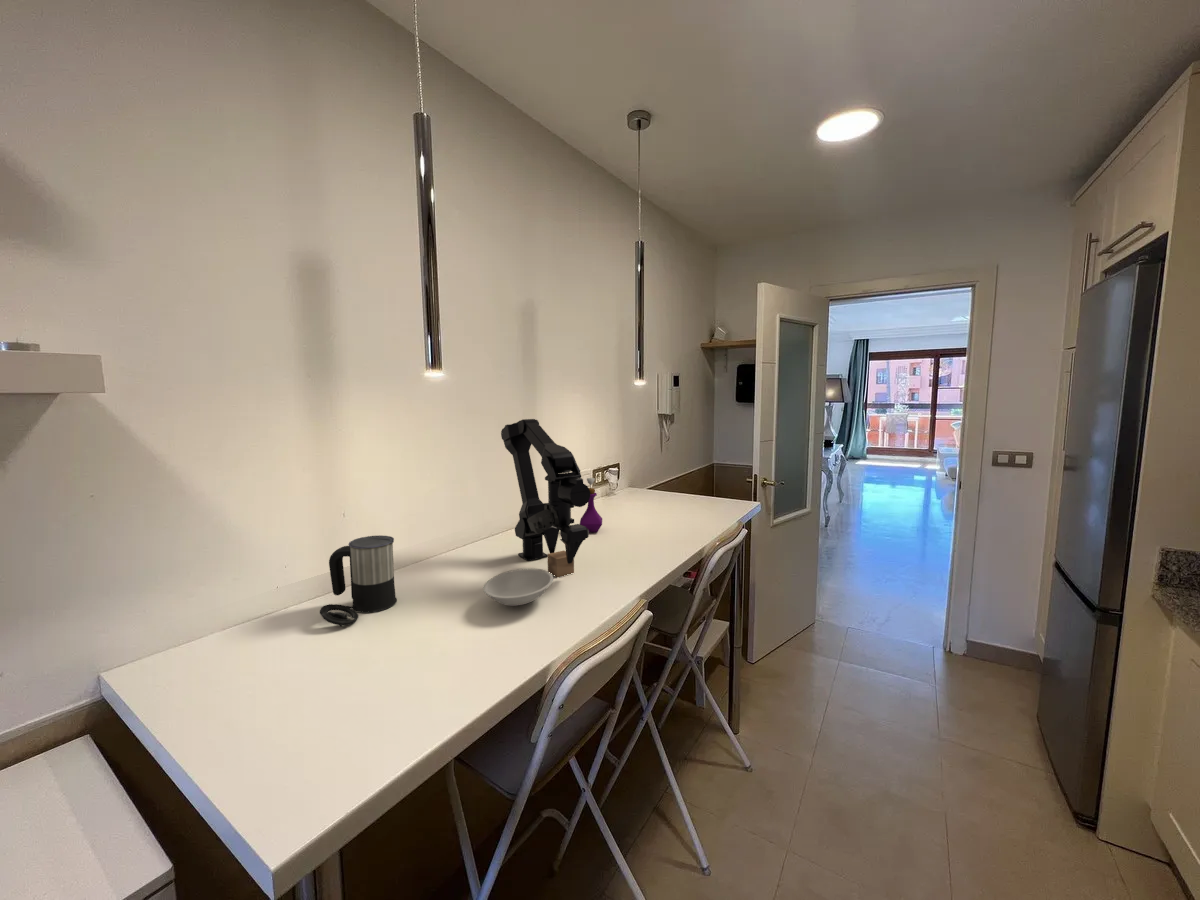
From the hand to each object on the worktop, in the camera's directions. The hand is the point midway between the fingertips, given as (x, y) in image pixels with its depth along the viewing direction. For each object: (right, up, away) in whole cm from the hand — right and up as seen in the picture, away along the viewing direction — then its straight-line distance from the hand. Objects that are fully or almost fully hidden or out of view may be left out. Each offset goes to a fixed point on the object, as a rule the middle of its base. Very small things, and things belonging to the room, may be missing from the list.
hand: (560, 558), depth 131 cm
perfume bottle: (+7, +1, +39) cm, 40 cm away
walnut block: (0, -4, 0) cm, 4 cm away
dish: (-8, -6, -18) cm, 21 cm away
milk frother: (-42, -7, -22) cm, 48 cm away
